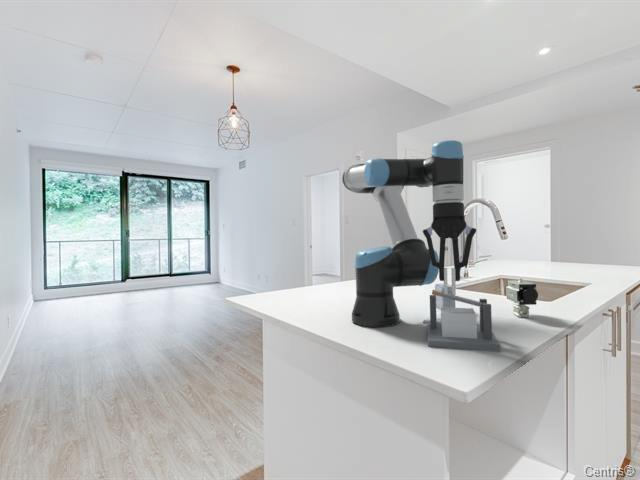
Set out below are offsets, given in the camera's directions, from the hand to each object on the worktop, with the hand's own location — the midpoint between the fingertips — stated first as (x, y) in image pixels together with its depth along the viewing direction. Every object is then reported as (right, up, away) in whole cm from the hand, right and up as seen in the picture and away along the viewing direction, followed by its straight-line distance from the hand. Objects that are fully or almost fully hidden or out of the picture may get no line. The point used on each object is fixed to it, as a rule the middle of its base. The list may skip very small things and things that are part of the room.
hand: (449, 293), depth 87 cm
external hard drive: (+5, -12, +19) cm, 23 cm away
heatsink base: (+3, -12, 0) cm, 12 cm away
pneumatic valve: (+30, -11, +20) cm, 37 cm away
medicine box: (+11, -11, +32) cm, 36 cm away
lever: (+2, -2, 0) cm, 3 cm away
